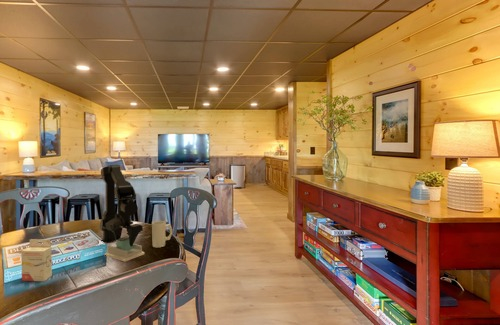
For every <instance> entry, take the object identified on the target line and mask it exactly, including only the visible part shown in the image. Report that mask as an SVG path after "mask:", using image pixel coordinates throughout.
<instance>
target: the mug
mask: <svg viewBox="0 0 500 325" xmlns="http://www.w3.org/2000/svg"><path fill="white" fill-rule="evenodd" d="M167 229H169V235H167V236H166V230H167ZM172 235H173V227H172V226H171V223H168V224H167V223H166V221H164V220H156V221H152V222H151V237H152V238H151V239H152V240H151V241H152V244H151V245H152V247H153V248H157V249H158V248H162V247H165V246H166V241H169V240H171V237H172Z"/></svg>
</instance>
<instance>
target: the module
mask: <svg viewBox="0 0 500 325" xmlns="http://www.w3.org/2000/svg"><path fill="white" fill-rule="evenodd" d="M115 241H116V242H115V247H116V248H119V249H123V250H126V251H127V250H130V249H133V246H130V244H129V235H126V236H123V237H122V236H121V238H119V239H118V240H115Z"/></svg>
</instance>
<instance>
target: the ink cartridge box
mask: <svg viewBox="0 0 500 325" xmlns="http://www.w3.org/2000/svg"><path fill="white" fill-rule="evenodd" d="M40 242H41V243H40ZM51 246H52V245H51V239H46V238H45V239H44V238H41V239H40V238H35V239H34V238H33V239H32V238H30V239H29V246H28V247H27V248H24V249H22V250H21V253H20V254H21V256H20V257H21V282H45V281H46V280H48V279H50V278H51V277H52V275H53V269H52V266H53V265H52V259H53V258H52V247H51Z"/></svg>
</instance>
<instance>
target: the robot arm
mask: <svg viewBox="0 0 500 325" xmlns="http://www.w3.org/2000/svg"><path fill="white" fill-rule="evenodd" d="M100 176H101V178H102V180H103V182H104V183H105V187H104V188H105V210H104V212H103V214H102V216H101V220H100V223H99V230H100V231H102V237H103V238H102V239H103V240H104V241H105V242H104V241H103V242H104V243H110V242H114V241H116V240H118V239H119V238H122V233H123V229H125V230H126V232H125V233H126V235H127V236H128V237H129V244H130V246H133V244H135V241H136V239H137V238H138V236H139V234H140V233H142V231H143V230H144V226H143V225H142V224H140V223H139V224H138V223H134V221H132V216H134V215H135V214H136V213H137V212H138V205H137V204H136V203H135V202H134V200H136V199H137V198H136V197H137V194H136V191H135V188H134V186H133V185H132V184H131V182H130V181H128V180H126V178H125V175H124V174H123V172H122V169H121V165H120V164H110V165H107V166H103V167H102V168H101V170H100ZM116 201H117V212H116Z"/></svg>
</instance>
